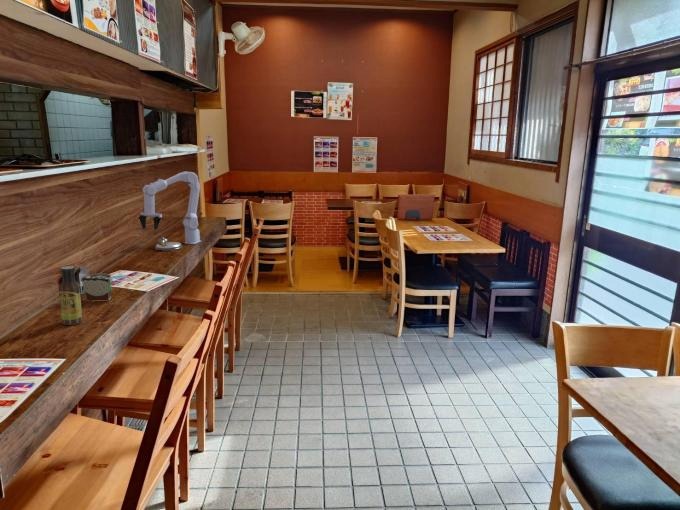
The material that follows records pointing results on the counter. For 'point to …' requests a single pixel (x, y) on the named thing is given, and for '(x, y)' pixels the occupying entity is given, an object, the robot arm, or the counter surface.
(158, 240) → the lid
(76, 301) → the sauce bottle
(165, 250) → the turntable base
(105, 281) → the food container
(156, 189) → the robot arm
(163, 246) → the turntable
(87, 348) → the counter surface
